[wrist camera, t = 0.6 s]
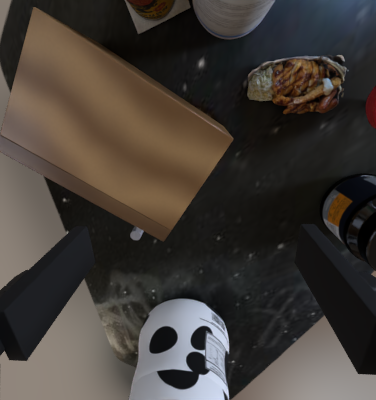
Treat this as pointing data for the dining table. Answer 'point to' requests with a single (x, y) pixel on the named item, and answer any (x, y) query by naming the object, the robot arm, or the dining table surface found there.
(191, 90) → the dining table surface
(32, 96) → the cabinet
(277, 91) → the pastry
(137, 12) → the condiment
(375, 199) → the supplement container
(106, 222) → the dining table surface
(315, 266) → the robot arm
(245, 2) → the supplement tub
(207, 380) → the doce de leite tub
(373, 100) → the strawberry
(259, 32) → the dining table surface
